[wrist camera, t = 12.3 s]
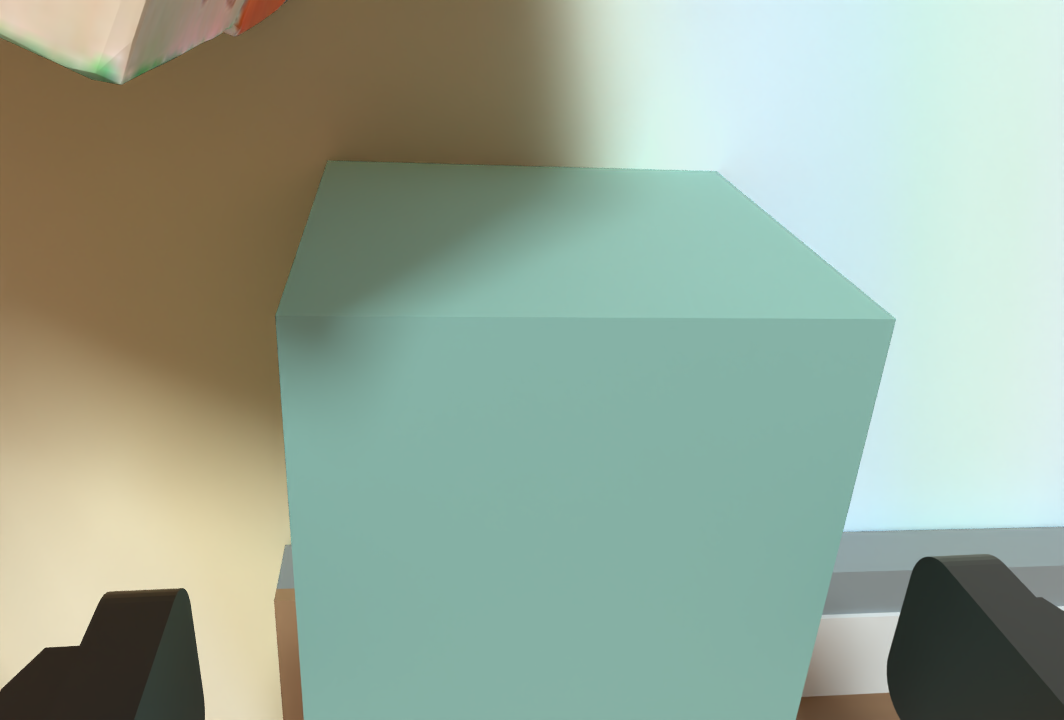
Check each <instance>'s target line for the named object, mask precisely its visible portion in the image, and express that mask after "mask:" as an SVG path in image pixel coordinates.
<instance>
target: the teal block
mask: <svg viewBox="0 0 1064 720" xmlns="http://www.w3.org/2000/svg"><path fill="white" fill-rule="evenodd" d="M275 319H276V333H277V347H278V362H279V376H280V390H281V404H282V418H283V432H284V446H285V461H286V475H287V489H288V503H289V517H290V531H291V545H292V560H293V574H294V588H295V602H296V616H297V630H298V644H299V659H300V673H301V687H302V701H303V715H304V720H796V717H797V713H798V709H799V705H800V701H801V697H802V693H803V689H804V685H805V681H806V677H807V673H808V669H809V665H810V661H811V657H812V653H813V649H814V645H815V641H816V637H817V633H818V629H819V625H820V621H821V617H822V613H823V609H824V605H825V601H826V597H827V593H828V589H829V585H830V581H831V577H832V573H833V569H834V565H835V561H836V557H837V553H838V549H839V545H840V541H841V537H842V533H843V529H844V525H845V521H846V517H847V513H848V509H849V505H850V501H851V497H852V493H853V489H854V485H855V481H856V477H857V473H858V469H859V465H860V461H861V457H862V453H863V449H864V445H865V441H866V437H867V433H868V429H869V425H870V421H871V417H872V413H873V409H874V405H875V401H876V397H877V393H878V389H879V385H880V381H881V377H882V373H883V369H884V365H885V361H886V357H887V353H888V349H889V345H890V341H891V337H892V333H893V329H894V325H895V321H896V319H895V318H894V317H893V316H892V315H890V314H889V313H888V312H887V311H885V310H884V309H883V308H882V307H881V306H879V305H878V304H877V303H876V302H875V301H873V300H872V299H871V298H870V297H868V296H867V295H866V294H865V293H864V292H862V291H861V290H860V289H859V288H858V287H856V286H855V285H854V284H853V283H851V282H850V281H849V280H848V279H847V278H845V277H844V276H843V275H842V274H840V273H839V272H838V271H837V270H836V269H834V268H833V267H832V266H831V265H830V264H828V263H827V262H826V261H825V260H823V259H822V258H821V257H820V256H819V255H817V254H816V253H815V252H814V251H813V250H811V249H810V248H809V247H808V246H806V245H805V244H804V243H803V242H802V241H800V240H799V239H798V238H797V237H795V236H794V235H793V234H792V233H791V232H789V231H788V230H787V229H786V228H785V227H783V226H782V225H781V224H780V223H778V222H777V221H776V220H775V219H774V218H772V217H771V216H770V215H769V214H768V213H766V212H765V211H764V210H763V209H761V208H760V207H759V206H758V205H757V204H755V203H754V202H753V201H752V200H751V199H749V198H748V197H747V196H746V195H744V194H743V193H742V192H741V191H740V190H738V189H737V188H736V187H735V186H733V185H732V184H731V183H730V182H729V181H727V180H726V179H725V178H724V177H723V176H721V175H720V174H719V173H718V172H716V171H688V170H652V169H616V168H580V167H544V166H508V165H472V164H436V163H400V162H364V161H327V164H326V167H325V170H324V173H323V176H322V179H321V182H320V185H319V188H318V191H317V194H316V197H315V200H314V203H313V206H312V209H311V211H310V214H309V217H308V220H307V223H306V226H305V229H304V232H303V235H302V238H301V241H300V244H299V247H298V250H297V253H296V256H295V259H294V262H293V265H292V268H291V271H290V274H289V277H288V280H287V283H286V286H285V289H284V292H283V295H282V298H281V300H280V303H279V306H278V309H277V312H276V315H275Z"/></svg>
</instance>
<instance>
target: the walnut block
mask: <svg viewBox="0 0 1064 720" xmlns="http://www.w3.org/2000/svg"><path fill="white" fill-rule="evenodd" d="M796 720H900V718H899V716H898V715H897V713H896V711H895V708H894V706H893V703H892V700H891V697H890V693H871V694H851V695H831V696H811V697H801V701H800V705H799V709H798V713H797V717H796Z"/></svg>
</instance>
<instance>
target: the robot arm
mask: <svg viewBox="0 0 1064 720" xmlns="http://www.w3.org/2000/svg"><path fill="white" fill-rule="evenodd" d="M887 684H888V689H889V693H890V697H891V700H892V703H893V706H894V708H895V711H896V713H897V715H898V716H899V718H900V720H1064V611H1063V610H1061V609H1060V608H1058V607H1057V606H1055V605H1054V604H1052V603H1051V602H1049V601H1047V600H1046V599H1044V598H1043V597H1036V596H1035V595H1034V594H1033V593H1032V592H1031V591H1030V590H1029V589H1028V588H1027V587H1026V586H1025V585H1024V584H1023V583H1022V582H1021V581H1020V580H1019V579H1018V578H1017V576H1016V575H1015V574H1014V573H1013V572H1012V571H1011V570H1010V569H1009V568H1008V567H1007V566H1006V565H1005V564H1004V563H1003V562H1002V561H1001V560H1000V559H998V558H997V557H995V556H993V555H990V554H972V555H950V556H928V557H923V558H922V559H920V560H919V561H918V562H917V563H916V564H915V566H914V568H913V570H912V573H911V576H910V580H909V583H908V587H907V591H906V594H905V598H904V601H903V605H902V608H901V612H900V616H899V619H898V623H897V626H896V630H895V633H894V637H893V641H892V644H891V648H890V651H889V655H888V659H887ZM0 720H205V706H204V695H203V688H202V681H201V674H200V667H199V660H198V653H197V646H196V639H195V632H194V625H193V618H192V611H191V604H190V599H189V596H188V593H187V591H186V590H185V589H183V588H179V589H157V590H135V591H113V592H107V593H106V594H104V595H103V597H102V598H101V600H100V602H99V604H98V606H97V608H96V610H95V612H94V615H93V617H92V619H91V621H90V624H89V626H88V628H87V630H86V633H85V635H84V637H83V639H82V642H81V644H80V646H68V647H49V648H44V649H43V650H42V651H41V652H40V653H39V654H38V655H37V656H36V657H35V658H34V659H33V660H32V661H31V662H30V663H29V664H28V665H26V666H25V667H24V668H23V669H22V670H21V671H20V672H19V673H18V674H17V675H16V676H15V677H14V678H13V679H12V680H11V681H10V682H8V683H7V684H6V685H5V686H4V687H3V688H2V689H1V691H0Z"/></svg>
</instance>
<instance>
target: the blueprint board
mask: <svg viewBox="0 0 1064 720" xmlns="http://www.w3.org/2000/svg"><path fill="white" fill-rule="evenodd" d="M972 554H990V555H993V556H995V557H997V558H998V559H1000V560H1001V561H1002V562H1003V563H1004V564H1005V565H1006V566H1007V567H1008V568H1009V569H1010V570H1011V571H1012V572H1013V573H1014V574H1015V575H1016V576H1017V578H1018V579H1019V580H1020V581H1021V582H1022V583H1023V584H1024V585H1025V586H1026V587H1027V588H1028V589H1029V590H1030V591H1031V592H1032V593H1033V594H1034V595H1035V596H1036V597H1043V598H1044V599H1046V600H1047V601H1049V602H1051V603H1052V604H1054V605H1055V606H1057V607H1058V608H1060V609H1061V610H1063V611H1064V527H1032V528H989V529H947V530H904V531H861V532H843V533H842V537H841V541H840V545H839V549H838V553H837V557H836V561H835V565H834V569H833V573H832V577H831V581H830V585H829V589H828V593H827V597H826V601H825V605H824V609H823V613H822V617H821V621H820V625H819V629H818V633H817V637H816V641H815V645H814V649H813V653H812V657H811V661H810V665H809V669H808V673H807V677H806V681H805V685H804V689H803V693H802V697H811V696H831V695H851V694H871V693H889V689H888V684H887V659H888V655H889V651H890V648H891V644H892V641H893V637H894V633H895V630H896V626H897V623H898V619H899V616H900V612H901V608H902V605H903V601H904V598H905V594H906V591H907V587H908V583H909V580H910V576H911V573H912V570H913V568H914V566H915V564H916V563H917V562H918V561H919V560H920V559H922V558H923V557H928V556H950V555H972ZM274 605H275V618H276V631H277V644H278V657H279V670H280V683H281V696H282V709H283V720H304V715H303V701H302V687H301V673H300V659H299V644H298V630H297V616H296V602H295V588H294V574H293V560H292V545H285V549H284V554H283V559H282V564H281V569H280V574H279V579H278V584H277V589H276V594H275V599H274Z"/></svg>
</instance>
